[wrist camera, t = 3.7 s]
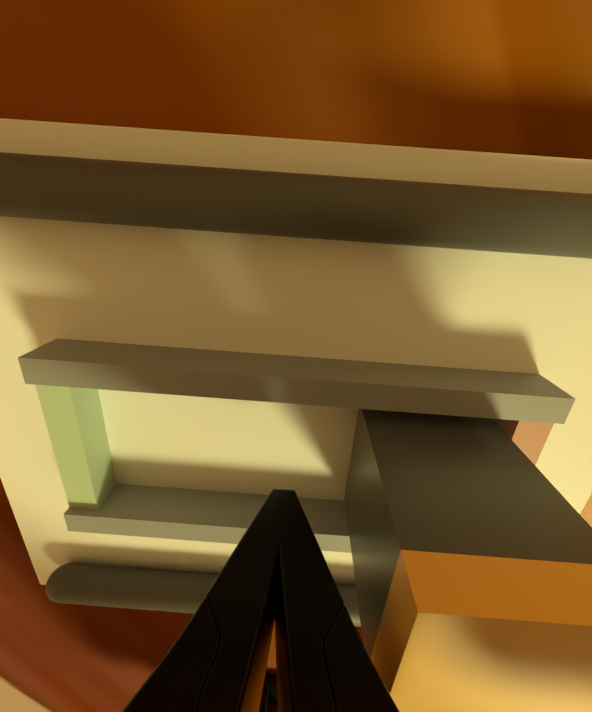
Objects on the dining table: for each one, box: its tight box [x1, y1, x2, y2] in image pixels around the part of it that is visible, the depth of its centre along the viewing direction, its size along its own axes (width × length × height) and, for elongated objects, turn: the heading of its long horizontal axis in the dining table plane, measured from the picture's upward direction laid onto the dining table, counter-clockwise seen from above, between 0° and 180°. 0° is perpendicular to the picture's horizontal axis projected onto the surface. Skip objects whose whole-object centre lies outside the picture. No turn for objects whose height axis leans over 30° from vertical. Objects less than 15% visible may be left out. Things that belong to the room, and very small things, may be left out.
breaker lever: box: [344, 409, 592, 712], centre depth 8 cm, size 4×4×6 cm
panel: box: [0, 118, 592, 627], centre depth 12 cm, size 18×22×4 cm
